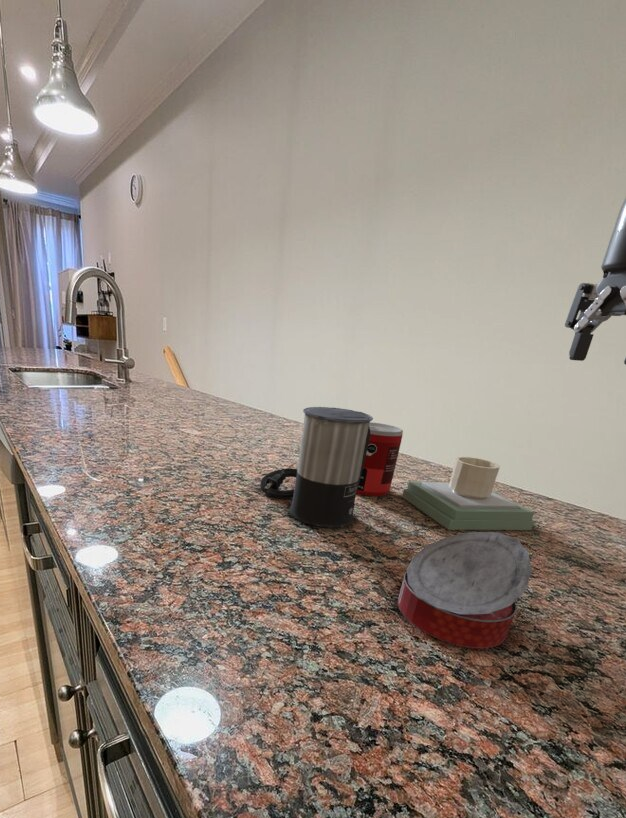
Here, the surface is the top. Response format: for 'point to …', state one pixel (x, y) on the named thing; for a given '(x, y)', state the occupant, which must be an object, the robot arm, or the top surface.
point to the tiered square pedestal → (465, 502)
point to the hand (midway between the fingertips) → (602, 362)
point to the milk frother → (325, 467)
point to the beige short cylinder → (473, 477)
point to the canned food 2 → (466, 588)
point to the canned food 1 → (380, 460)
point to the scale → (466, 512)
